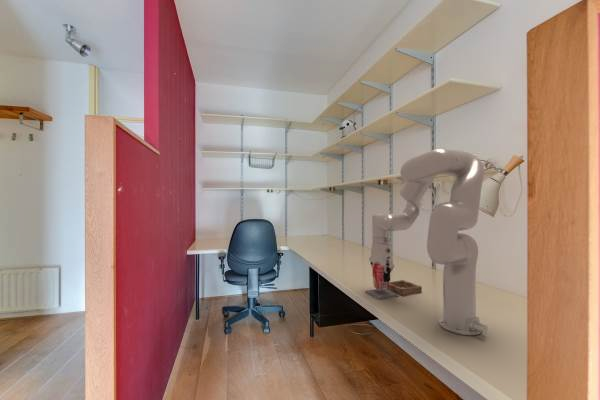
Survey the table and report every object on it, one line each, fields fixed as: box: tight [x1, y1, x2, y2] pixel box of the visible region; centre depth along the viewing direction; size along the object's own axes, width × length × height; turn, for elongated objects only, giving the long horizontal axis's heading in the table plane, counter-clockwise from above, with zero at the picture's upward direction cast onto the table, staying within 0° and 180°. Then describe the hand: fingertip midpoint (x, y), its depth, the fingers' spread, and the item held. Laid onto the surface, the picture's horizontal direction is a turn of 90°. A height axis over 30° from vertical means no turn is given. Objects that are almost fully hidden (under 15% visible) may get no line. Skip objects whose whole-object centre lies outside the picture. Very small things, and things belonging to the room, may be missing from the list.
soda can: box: [372, 263, 390, 290], centre depth 123 cm, size 7×7×12 cm
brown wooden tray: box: [387, 279, 423, 297], centre depth 128 cm, size 11×11×3 cm
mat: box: [365, 288, 399, 301], centre depth 123 cm, size 10×10×1 cm
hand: (381, 278), depth 123 cm, fingers closed on soda can, 7 cm apart
